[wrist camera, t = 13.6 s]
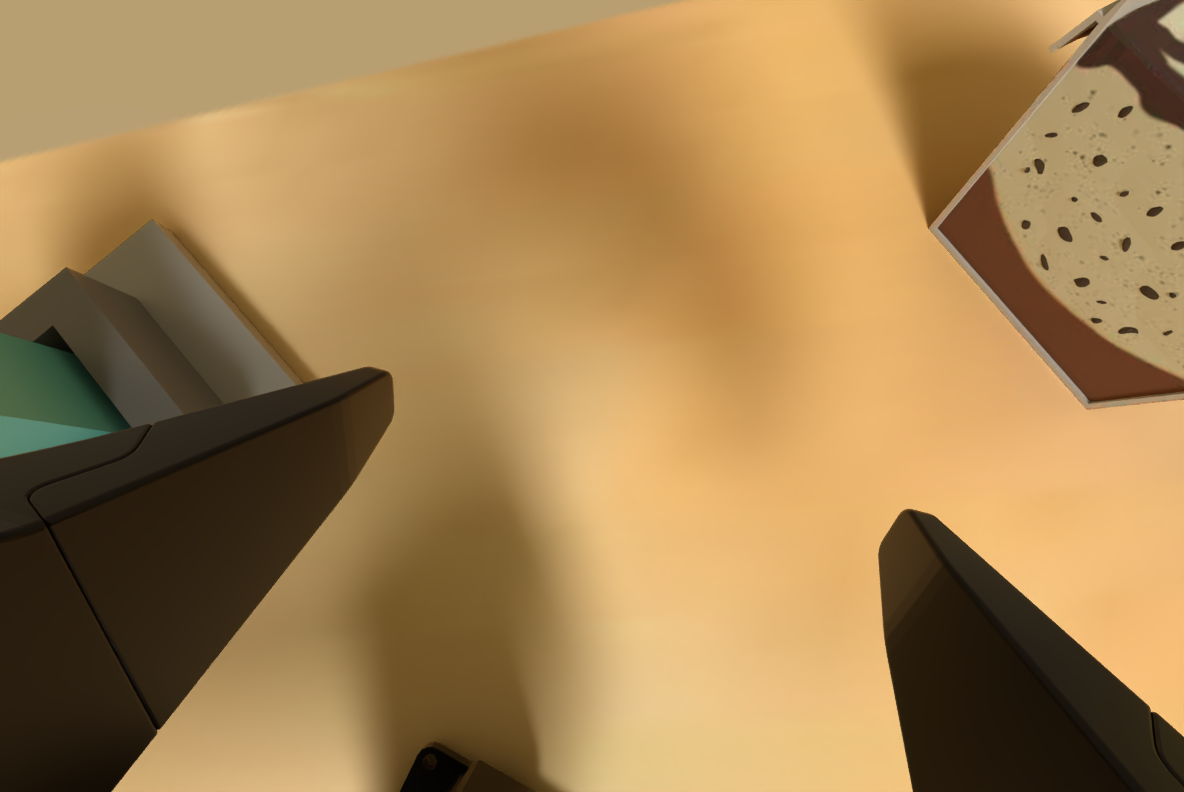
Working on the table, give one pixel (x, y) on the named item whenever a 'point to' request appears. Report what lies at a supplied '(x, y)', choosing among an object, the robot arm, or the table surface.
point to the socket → (152, 331)
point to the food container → (1091, 211)
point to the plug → (49, 399)
